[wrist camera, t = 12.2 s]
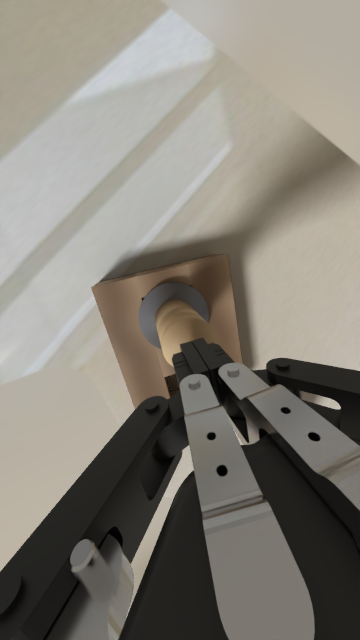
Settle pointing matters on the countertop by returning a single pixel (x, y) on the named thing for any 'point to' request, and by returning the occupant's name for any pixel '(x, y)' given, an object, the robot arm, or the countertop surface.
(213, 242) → the countertop surface
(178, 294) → the oak peg
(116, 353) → the walnut board
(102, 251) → the countertop surface
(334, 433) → the robot arm
